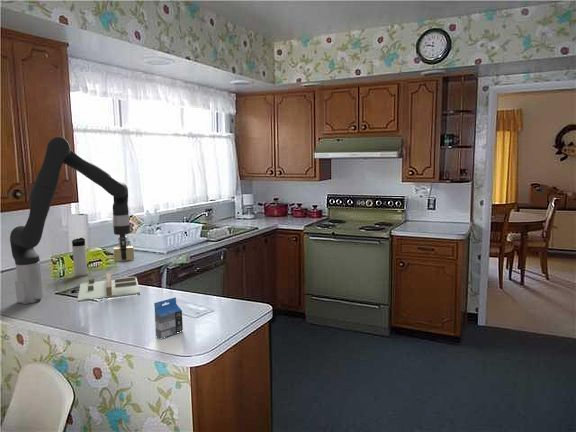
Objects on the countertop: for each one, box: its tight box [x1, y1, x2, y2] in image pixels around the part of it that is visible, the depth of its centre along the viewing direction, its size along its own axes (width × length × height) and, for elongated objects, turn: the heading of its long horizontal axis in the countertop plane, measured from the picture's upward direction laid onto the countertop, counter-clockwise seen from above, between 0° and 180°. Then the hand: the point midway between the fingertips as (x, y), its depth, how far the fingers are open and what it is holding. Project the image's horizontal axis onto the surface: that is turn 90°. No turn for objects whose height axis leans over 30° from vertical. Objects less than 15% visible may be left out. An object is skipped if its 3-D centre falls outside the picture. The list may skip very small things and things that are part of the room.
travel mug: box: [71, 237, 89, 278], centre depth 231 cm, size 6×7×20 cm
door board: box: [77, 272, 141, 303], centre depth 209 cm, size 26×26×5 cm
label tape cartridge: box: [154, 297, 184, 339], centre depth 156 cm, size 9×4×12 cm, turn 136°
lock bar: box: [113, 245, 135, 262], centre depth 214 cm, size 9×4×6 cm, turn 112°
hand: (123, 258), depth 215 cm, fingers closed on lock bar, 3 cm apart
